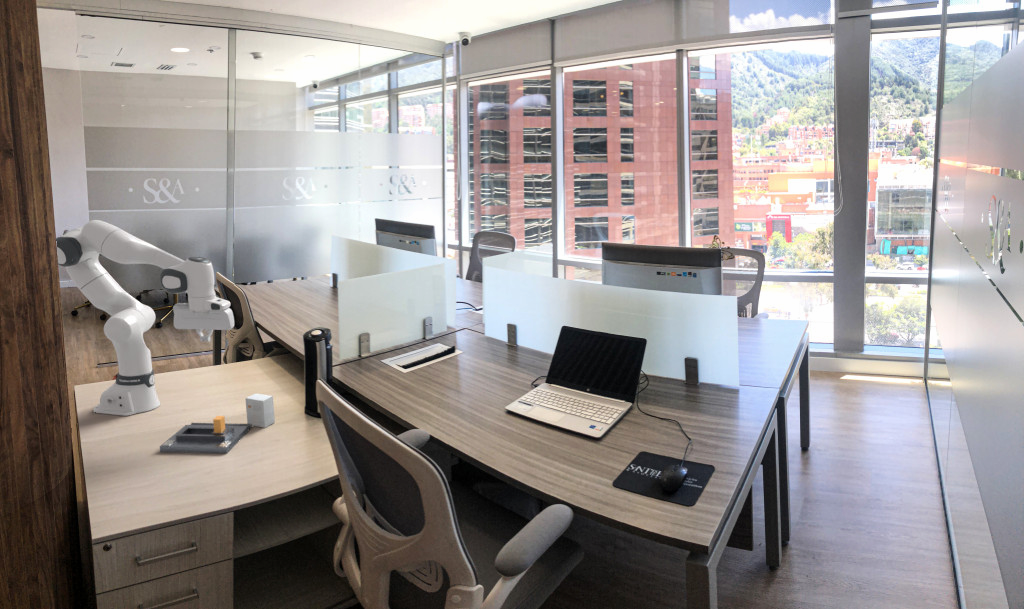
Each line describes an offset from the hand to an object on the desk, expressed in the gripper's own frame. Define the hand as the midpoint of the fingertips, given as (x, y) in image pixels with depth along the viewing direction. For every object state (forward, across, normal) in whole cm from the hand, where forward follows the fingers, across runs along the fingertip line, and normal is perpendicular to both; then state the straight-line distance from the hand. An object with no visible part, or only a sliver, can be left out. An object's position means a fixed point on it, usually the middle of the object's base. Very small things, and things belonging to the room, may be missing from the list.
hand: (205, 341), depth 233 cm
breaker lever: (+29, +10, -16) cm, 35 cm away
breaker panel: (+31, +5, -16) cm, 35 cm away
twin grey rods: (+31, +5, -4) cm, 32 cm away
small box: (+31, +18, 0) cm, 36 cm away
